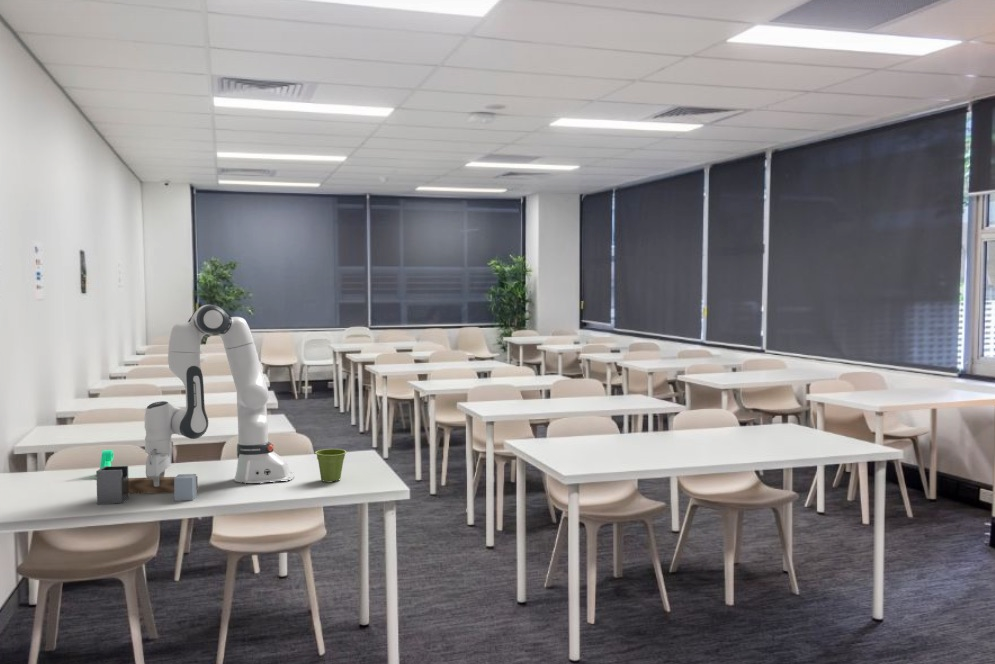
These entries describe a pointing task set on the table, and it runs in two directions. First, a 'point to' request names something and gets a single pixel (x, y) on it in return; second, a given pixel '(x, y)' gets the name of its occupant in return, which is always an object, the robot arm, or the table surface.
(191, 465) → the table surface
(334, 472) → the plant pot
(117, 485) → the cup bracket
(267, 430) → the robot arm
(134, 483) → the rail
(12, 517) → the table surface
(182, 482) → the block
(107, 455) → the camera mount
